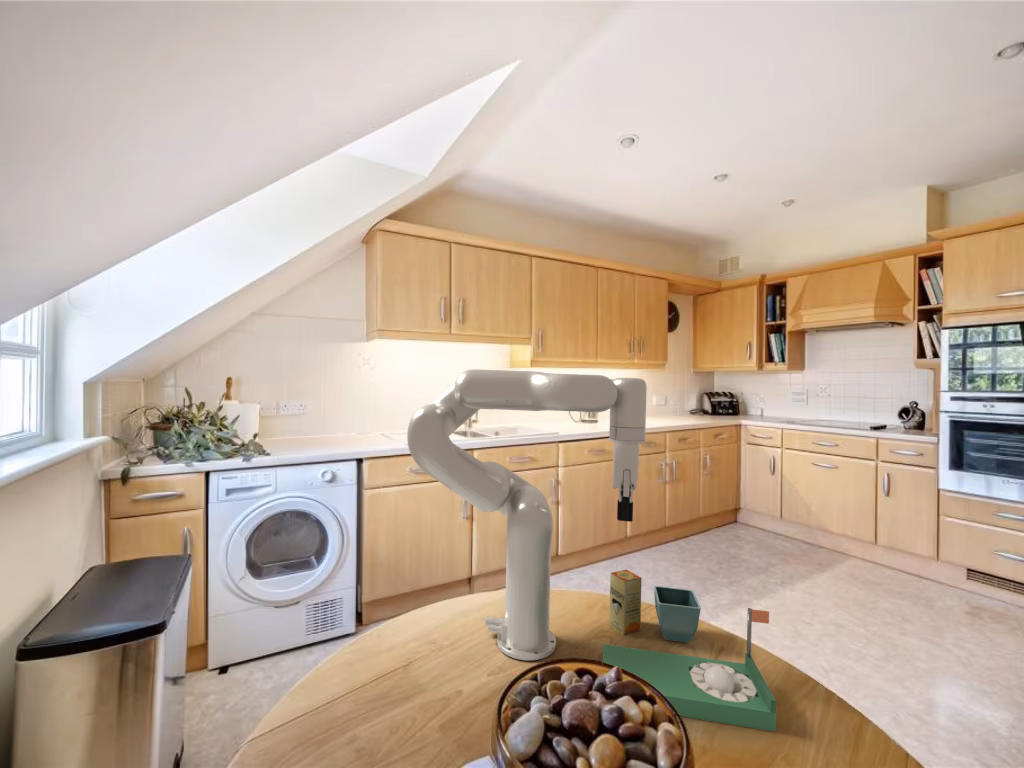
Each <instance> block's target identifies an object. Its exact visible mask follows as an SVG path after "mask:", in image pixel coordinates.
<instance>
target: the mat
mask: <svg viewBox="0 0 1024 768" xmlns="http://www.w3.org/2000/svg"><path fill="white" fill-rule="evenodd" d="M744 654H745V657H744V663H741V662H735V661H727V660H720V659H713V658H708V657H707V658H705V657H697V656H691V655H685V654H677V653H669V652H663V651H656V650H648V649H641V648H636V647H635V648H633V647H629V646H628V647H627V646H622V645H621V646H619V645H614V644H613V645H612V644H605V643H603V644H602V663H603V662H604V663H607V664H610V665H613V666H618V667H620V668H622V669H624V670H626V671H628V672H630V673H633V674H635V675H636V676H639V677H640V678H642V679H644V680H646V681H647V682H649V683H650V684H651V685H653V686H654V687H655V688H656V689H658V690H659V691H660V692H662V693H663V694H664V695H665V697H666V698H667V699H668V700H669V701H670V702H671V704H672V705H673V706H674V707H675V709H676V710H677V712H678V713H679V714H680V716H679V717H684V718H689V719H697V720H702V721H709V722H715V723H722V724H727V725H732V726H738V727H746V728H752V729H757V730H763V731H768V732H769V731H770V732H774V733H775V732H777V731H776V730H777V727H776V726H777V719H776V718H777V700H776V698H775V696H774V695H773V692H772V690H771V689H770V687H769V686H768V684H767V682H766V680H765V678H764V676H763V675H762V673H761V671H760V669H759V667H758V666H757V664H756V662H755V660H754V658H753V657H752V656H751V658H749V657H747V652H746V653H744ZM746 665H747V667H746ZM712 666H717V667H721V668H723V669H724V670H726V671H727V672H728V673H729V674H730V676H731V678H732V680H733V683H734V690H733V693H732V694H730V693H723V692H720V691H718V690H716V689H713V688H711V687H710V686H709V685H708V684H707V683H706V682H704V680H703V676H704V673H705V671H706V670H707V669H708V668H709V667H712Z"/></svg>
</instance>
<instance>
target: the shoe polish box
mask: <svg viewBox="0 0 1024 768" xmlns="http://www.w3.org/2000/svg"><path fill="white" fill-rule="evenodd" d="M609 575H610V576H609V579H610V580H609V583H610V584H609V611H608V613H609V615H608V616H609V618H608V619H609V621H608V622H609V624H608V625H609V626H611V627H612V628H614V629H615V630H616V631H618V633H620V634H621V635H622V636H626V635H629V634H633V633H635V632H636V633H637V632H640V631H641V623H642V622H641V619H642V617H641V616H642V614H641V613H642V612H641V611H642V610H641V608H642V577H641V576H639V575H638V574H635V573H634V572H632V571H630V570H628V569H622V570H618V571H614V572H610V574H609Z"/></svg>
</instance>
